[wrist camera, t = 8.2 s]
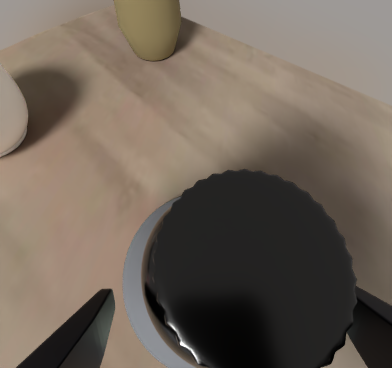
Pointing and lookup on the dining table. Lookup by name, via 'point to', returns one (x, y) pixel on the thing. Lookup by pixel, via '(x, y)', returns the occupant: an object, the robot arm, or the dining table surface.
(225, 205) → the supplement bottle
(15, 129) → the lidded jar
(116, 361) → the dining table surface
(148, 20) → the squeeze bottle
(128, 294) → the plate
